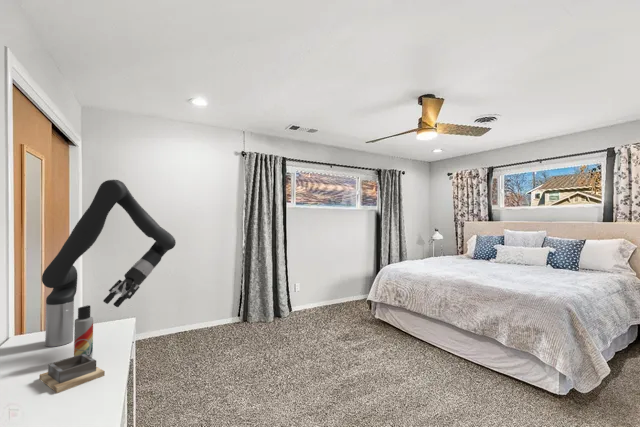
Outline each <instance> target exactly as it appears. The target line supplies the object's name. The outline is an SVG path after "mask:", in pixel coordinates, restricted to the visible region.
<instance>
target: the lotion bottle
mask: <svg viewBox="0 0 640 427" xmlns="http://www.w3.org/2000/svg"><path fill="white" fill-rule="evenodd" d="M93 347H94V317H93V316H91V305H83V306H80V307H77V318H76V319H74V328H73V357H74V356H77V355H80V354H85V355H87V356H89V357H91V358H93V355H94V354H93V353H94V348H93Z"/></svg>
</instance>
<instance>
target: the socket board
mask: <svg viewBox="0 0 640 427" xmlns="http://www.w3.org/2000/svg"><path fill="white" fill-rule="evenodd" d="M47 367H48V368H47V371H46V372H43V373H40V374H39V378H38V379H39V380H40V381H41V382H42V381H43V382H42V383H44V384H45V385H46V386H48V387H49V388H50V389H52V390H53V391H54V392H55V393H56V394H59V393H62V392H64V391H66V390H70V389H72V388H74V387H77V386H81V385H83V384H85V383H89V382H91V381H94V380H96V379H100V378H102V377H104V376H105V370H103V369H102V368H100V367H98V366H97V359H94V358H93V357H92V358H91V357H89V356H87V355H85V354H80V355H77V356H74V355H73V356H71V357H68V358H64V359H61V360H57V361H55V362H51V363H49V364H48V365H47Z"/></svg>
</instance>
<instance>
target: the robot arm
mask: <svg viewBox="0 0 640 427" xmlns="http://www.w3.org/2000/svg"><path fill="white" fill-rule="evenodd" d="M116 204H118V205H119V206H120V207H122V209H124V211H125V213H127V214H128V215H129V218H130V219H131V220H132V222H133V223H134V224H135V226H136V227H137V228H138V229H139V230H141V232H142V233H143V234H144V235H145V236H146V237H147V238H151V239H153V240H154V241H155V242H154V243H153V244H152V245H151V247H150V248H148V251H146V252H145V254H143V255H142V256H141V258H140V259H138V261H136V262H134V264H133V265H132V266H131V267H130V268H129V269H128V270H127V272H126V273H125V274H124V275H123V276H124V279H123V280H121V279H118V280H117V281H116V282H115V283H114V285H112V287H111V288H109V289H108V292H109V294H108V295H107V296H106V297H105V298H104V299H103V301H102V302H103V303H104V304H107V305H108V304H109V303H110V302H111V301H112V300H113V299H114V298H115V297H116V296H118V295H119V294H120V296H119V297H118V298H117V299H116V300H115V302H113V306H114V307H116V308H119V307H120V306H121V305H122V304H123V302H124V301H126V300H130V299H131V298H132V297H133V296H134V295H135V294H136V293H137V291H138V290H139V289H140V285H141V284H143V283H144V281H145V280H146V279H147V277H149V275H150V274H151V273H152V271H154V269H155V268H156V267H157V266H158V264H159V263H160V262H161V261H162V258H163V257H164V255H165V254H166V253H167V252H168V251H171V250H172V249H174V248H175V246H176V239H175V237H174V235H172V234H171V233H170V232H169V231H168V230H166V229H164V228H163V227H161V225H159V224H158V223H157V221H156V220H155V219H154V218H153V217H152V216H151V215H150V214H149V213H148V212H147V211H146V210H145V209H144V207H142V206H141V204H139V202H138V201H137V200H136V199H135V198H134V195H133V194H132V193H131V191H130V190H129V189H128V187H127V185H126V184H125V183H124V182H123V181H121V180H119V179H108V180H105V181H103V182H102V183H101V184H100V185H99V187H98V189H97V191H96V194H95V195H94V197H93V199H92V201H91V203H90V205H89V206H88V208H87V209H86V211H84V213H83V214H82V216H81V217H80V219H79V220H78V221H77V223H76V224H75V226H74V228H73V229H72V231H71V232H70V235H69V236H68V237H67V239H66V241H64V244H63V245H62V247H61V249H60V250H59V251H58V253H57V254H56V255H55V257H54V258H53V259H52V261H50V263H49V264H48V266H47V267H46V268H45V270H44V271H43V273H42V274H41V282H42V284H43V285H44V286H45V287H46V288H48V289H52V291H51V292H50V293H49V294H48V295H47V296H46V299H45V337H44V338H45V340H44V341H45V342H44V346H46V347H60V346H64V345H67V344H70V343H72V342H74V326H75V319H74V314H75V306H74V305H75V295H76V293H77V290H78V271H77V268H76V266H74V264H75V262H77V260H79V258H80V257H81V256H82V255H84V254H85V252H87V251H88V250H89V249H90V248H91V247H92V246H93V245H95V243H96V241H97V239H98V238H99V236H100V234H101V232H102V230H103V229H104V227H105V223H106V220H107V218H108V215H109V213H110V212H111V210H112V209H113V207H114V206H115V205H116Z"/></svg>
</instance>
